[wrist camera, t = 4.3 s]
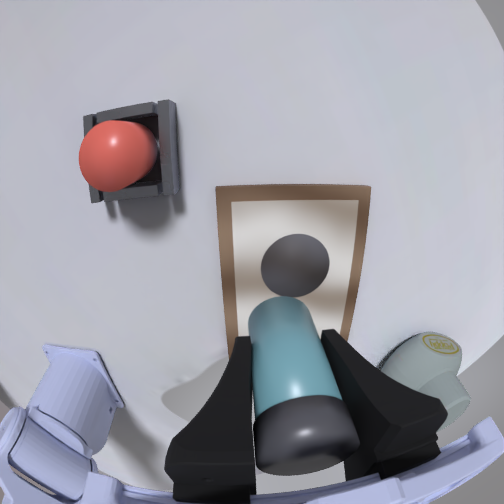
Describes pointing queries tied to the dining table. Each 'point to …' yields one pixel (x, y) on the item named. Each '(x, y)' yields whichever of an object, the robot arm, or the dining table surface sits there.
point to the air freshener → (431, 371)
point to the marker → (295, 393)
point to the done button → (117, 154)
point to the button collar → (166, 142)
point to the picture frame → (291, 250)
